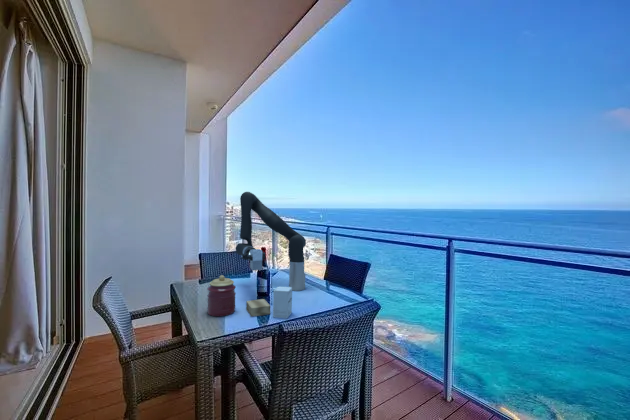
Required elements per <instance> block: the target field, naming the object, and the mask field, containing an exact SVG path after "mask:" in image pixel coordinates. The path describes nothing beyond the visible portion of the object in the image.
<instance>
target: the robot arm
mask: <svg viewBox="0 0 630 420" xmlns="http://www.w3.org/2000/svg"><path fill="white" fill-rule="evenodd" d="M239 198H240V199H239V200H240V217H241V218H240V221H241V222H240V230H239V231H240V233H239V239H241V240H244V241H246V243H245V242H244V243H243V242H241V243H240V242H239V243H238V244H236V247H235V252H236V254H237V255H238V256H240V259H242V260H245V261H246V260H247V261H249V262H250V260H251V261H253V257H252V256H251V255H250V250H252V249H256V248H255V246H254V245H253V242H252V241H253V239H252V234H253V232H252V231H253V226H252V225H253V224H252V222H253V221H252V211H253V212H255V213H256V214H257V216H258V217H259V218H260V219H261V220H262V221H263V223H264V224H265V225H266V226H267V227H268V228H270V229H271V230H272V231H274V232H275V233H277V234H278V235H281V236H283V237H284V238H285V239H286V240H288V258H289V271H288V273H289V275H288V277H289V280H288V281H289V282H288V287H292V292H295V291H296V292H299V291H304V290H306V273H305V256H304V248H305V247H306V244H307V241H306V238H305V237H304V235H302V234H300V233H299V232H298V231H296V230H294V229H293V228H292V227H291V226H290V225H289V224H288V222H286V221H285V220H284V219H283V218H281V217H280V216H279V215H278V214H277V213H276V212H275V211H273V210H272V209H271V208H269V207H267V206H266V205H265V204H264V203H263V202H262V201H261V200H260V199H259V198H258V197H257V196H256V194H254V193H252V192H251V191H244V192H243V193H241V195H240V197H239ZM265 259H266V252H265V251H264V252H263V251H262V261H264V260H265Z"/></svg>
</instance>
